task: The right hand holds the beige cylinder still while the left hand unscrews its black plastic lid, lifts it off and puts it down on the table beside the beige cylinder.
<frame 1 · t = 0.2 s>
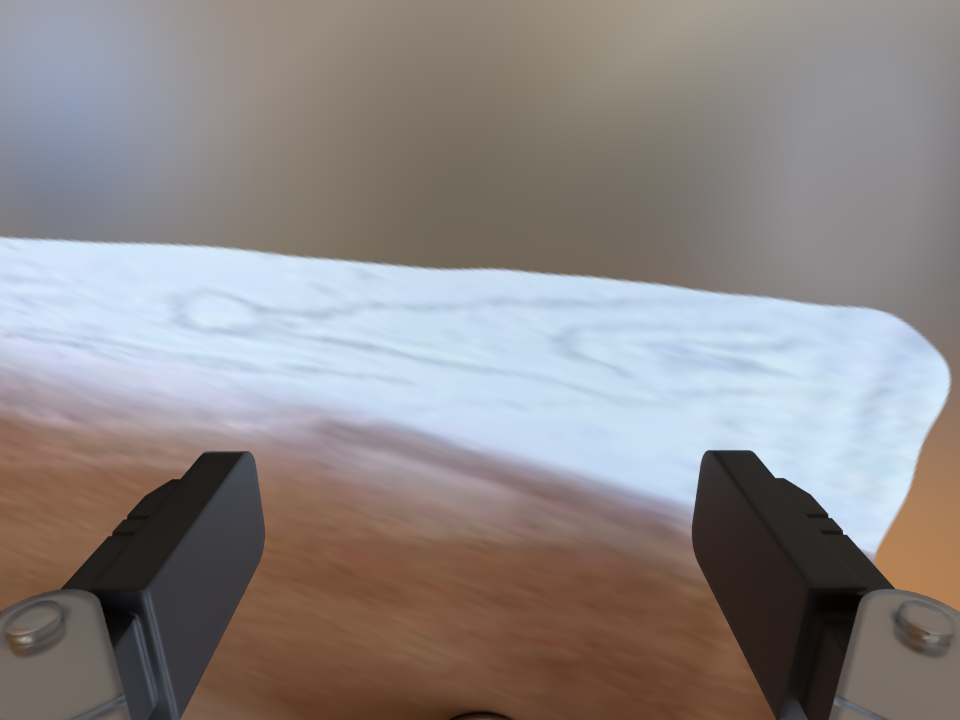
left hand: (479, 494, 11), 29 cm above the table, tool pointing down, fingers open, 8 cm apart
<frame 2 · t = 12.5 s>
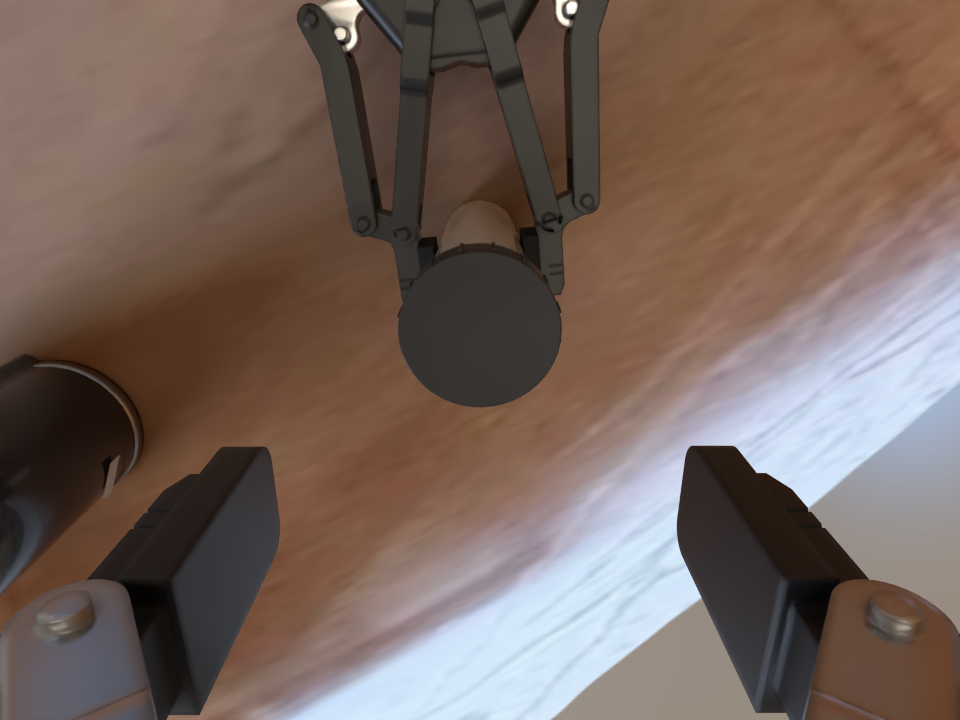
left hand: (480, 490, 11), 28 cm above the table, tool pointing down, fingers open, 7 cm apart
right hand: (490, 359, 33), fingers closed on beige cylinder, 4 cm apart
beige cylinder: (479, 236, 37), on the table, touching right hand
lid: (479, 329, 20), point 18 cm above the table, screwed on, not yet turned
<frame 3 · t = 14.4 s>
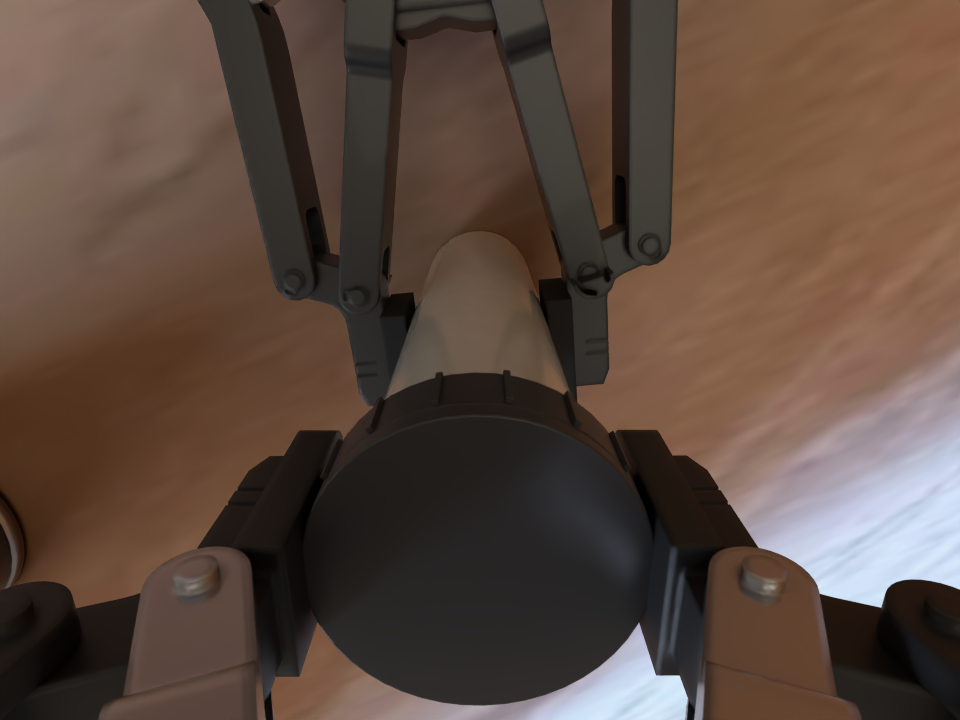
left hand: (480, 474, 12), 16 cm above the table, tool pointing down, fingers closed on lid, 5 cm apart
right hand: (494, 472, 22), fingers closed on beige cylinder, 4 cm apart
beige cylinder: (478, 281, 26), on the table, touching right hand
lid: (478, 559, 9), point 18 cm above the table, screwed on, not yet turned, touching left hand
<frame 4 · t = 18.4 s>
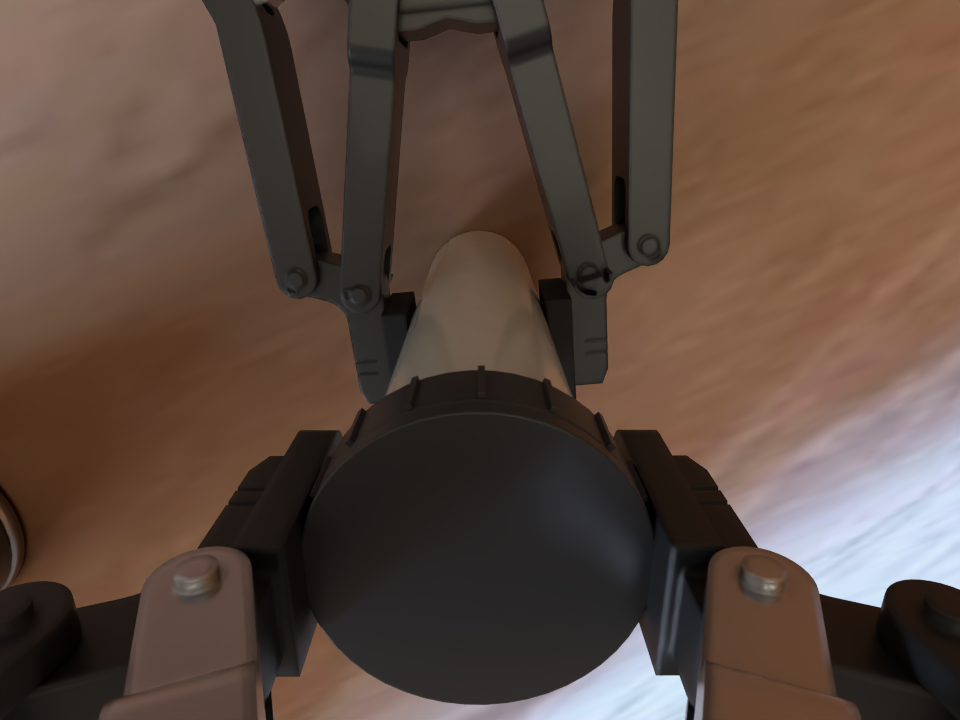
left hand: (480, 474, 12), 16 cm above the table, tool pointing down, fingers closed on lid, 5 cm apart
right hand: (493, 470, 22), fingers closed on beige cylinder, 4 cm apart
beige cylinder: (479, 280, 27), on the table, touching right hand
lid: (478, 558, 9), point 18 cm above the table, turned 99° so far, risen 0.2 cm, still on its thread, touching left hand
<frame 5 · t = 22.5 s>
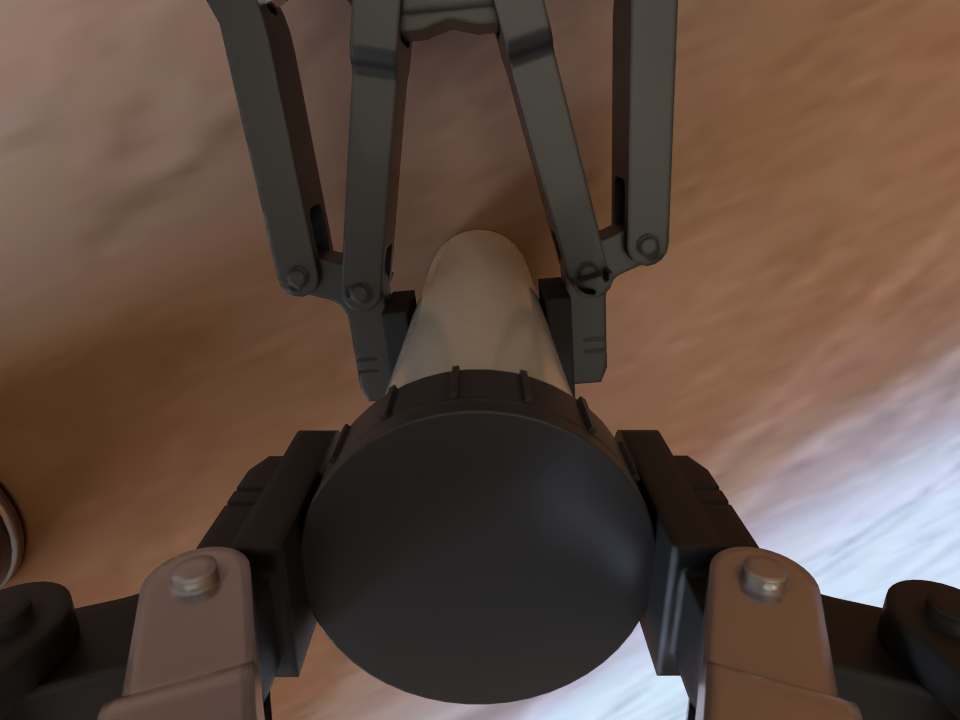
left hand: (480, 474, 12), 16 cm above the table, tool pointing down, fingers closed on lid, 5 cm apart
right hand: (492, 468, 22), fingers closed on beige cylinder, 4 cm apart
beige cylinder: (479, 279, 27), on the table, touching right hand
lid: (478, 557, 9), point 18 cm above the table, turned 197° so far, risen 0.3 cm, still on its thread, touching left hand
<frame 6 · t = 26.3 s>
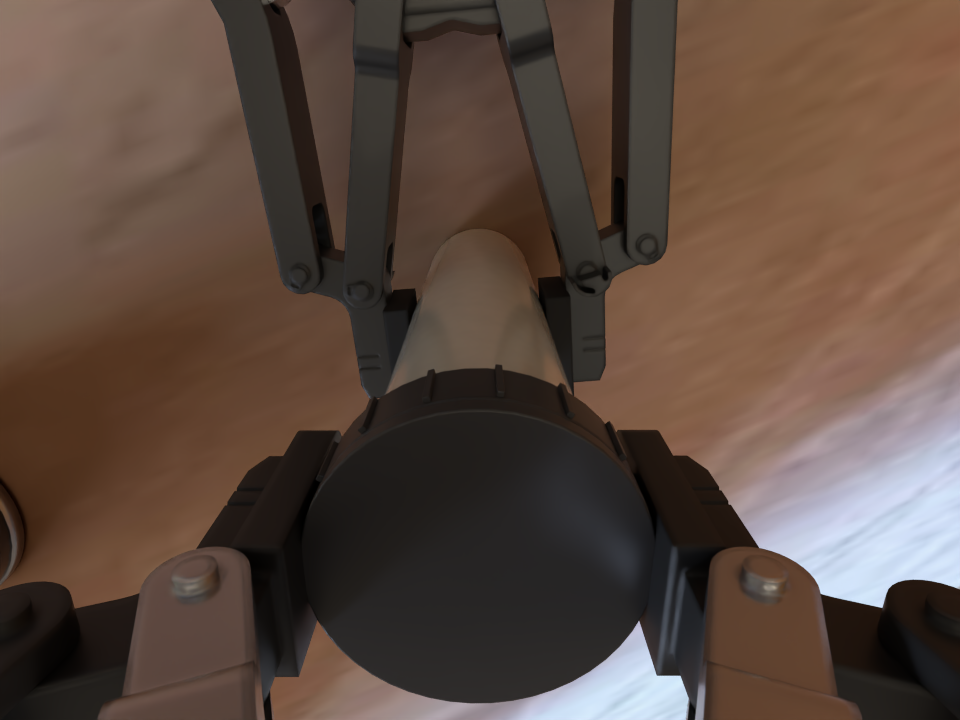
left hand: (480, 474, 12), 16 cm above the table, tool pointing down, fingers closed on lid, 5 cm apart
right hand: (491, 465, 23), fingers closed on beige cylinder, 4 cm apart
beige cylinder: (479, 278, 27), on the table, touching right hand
lid: (478, 556, 9), point 19 cm above the table, turned 296° so far, risen 0.5 cm, still on its thread, touching left hand
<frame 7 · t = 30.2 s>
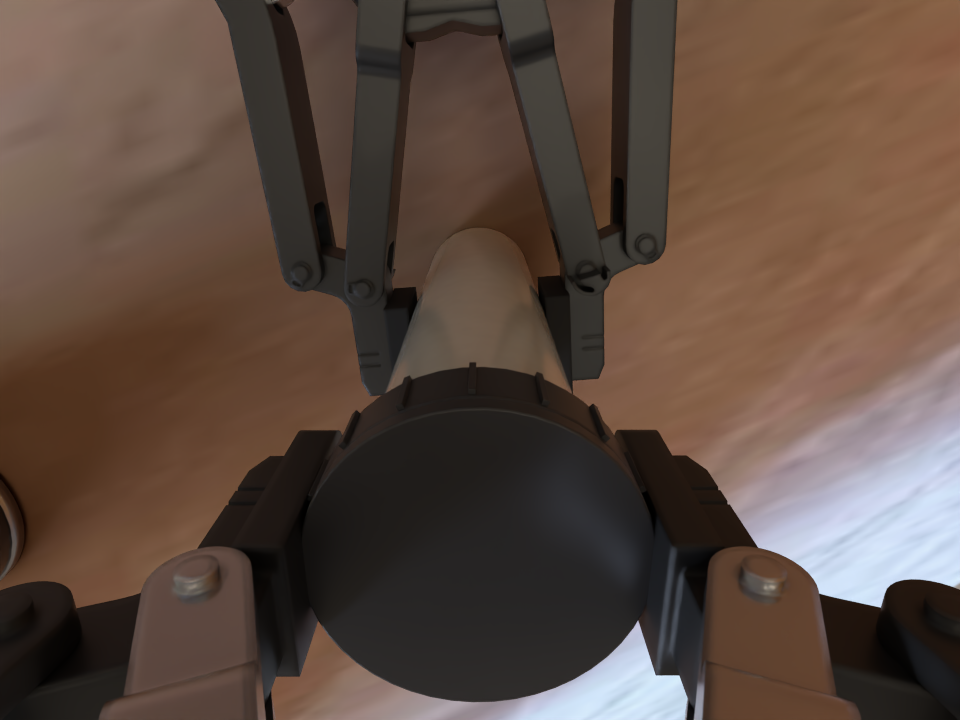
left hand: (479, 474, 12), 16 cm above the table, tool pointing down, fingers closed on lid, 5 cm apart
right hand: (490, 463, 23), fingers closed on beige cylinder, 4 cm apart
beige cylinder: (479, 276, 27), on the table, touching right hand
lid: (478, 555, 9), point 19 cm above the table, turned 395° so far, risen 0.7 cm, still on its thread, touching left hand
when the left hand's fingers open (0 cm above the table, at t = 36.5 s): lid drops 2 cm, point 1 cm above the table.
when the right hand's fingers open (7 cm above the table, at t = 37.3 s): beige cylinder stays where it is, on the table.
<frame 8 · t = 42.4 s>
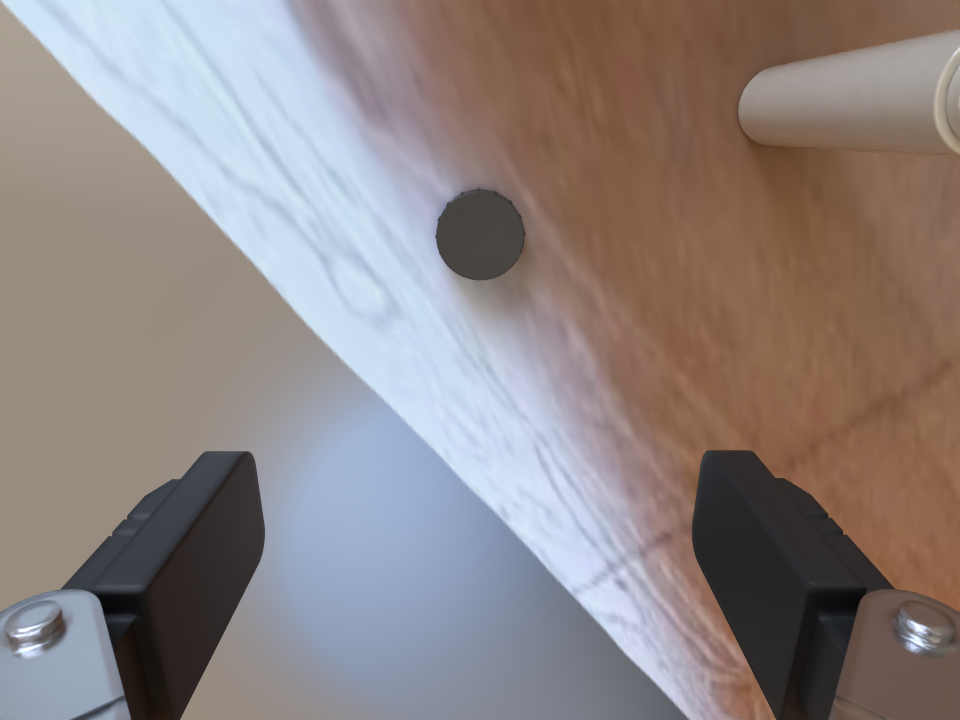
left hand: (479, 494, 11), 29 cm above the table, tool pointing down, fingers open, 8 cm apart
beige cylinder: (775, 106, 36), on the table
lid: (480, 236, 37), point 1 cm above the table, off its thread
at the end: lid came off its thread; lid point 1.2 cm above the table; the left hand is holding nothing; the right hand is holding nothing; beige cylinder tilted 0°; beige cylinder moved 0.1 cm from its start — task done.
